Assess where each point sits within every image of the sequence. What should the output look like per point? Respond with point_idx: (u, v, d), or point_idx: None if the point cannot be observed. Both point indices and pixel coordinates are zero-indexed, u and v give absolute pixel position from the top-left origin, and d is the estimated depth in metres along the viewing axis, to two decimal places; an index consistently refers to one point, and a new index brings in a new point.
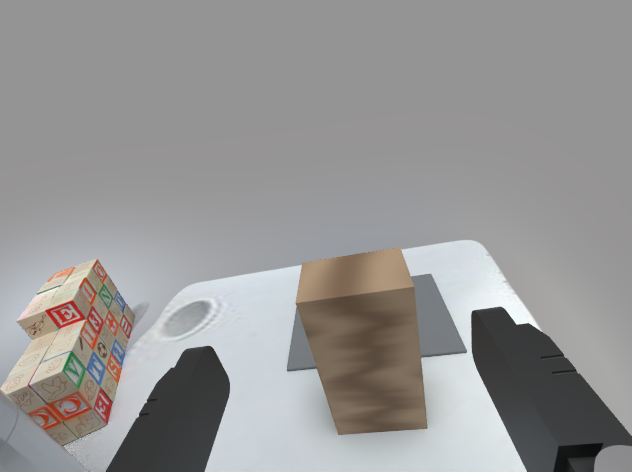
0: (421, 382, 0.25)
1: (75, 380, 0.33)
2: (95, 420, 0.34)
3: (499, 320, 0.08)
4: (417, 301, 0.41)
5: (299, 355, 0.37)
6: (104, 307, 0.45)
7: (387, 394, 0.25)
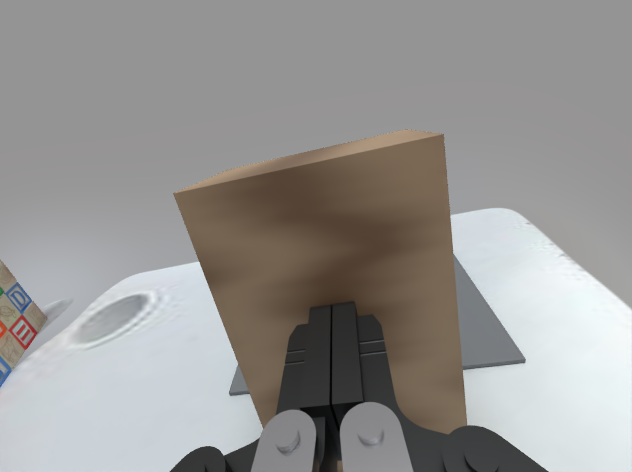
0: (461, 402, 0.11)
1: None
2: None
3: (344, 311, 0.09)
4: None
5: None
6: None
7: None
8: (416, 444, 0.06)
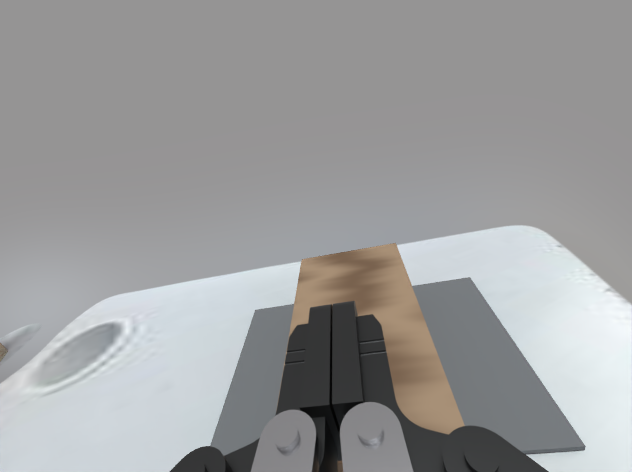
0: (425, 328, 0.17)
1: None
2: None
3: (345, 311, 0.09)
4: (454, 327, 0.23)
5: (232, 439, 0.19)
6: None
7: None
8: (416, 444, 0.06)
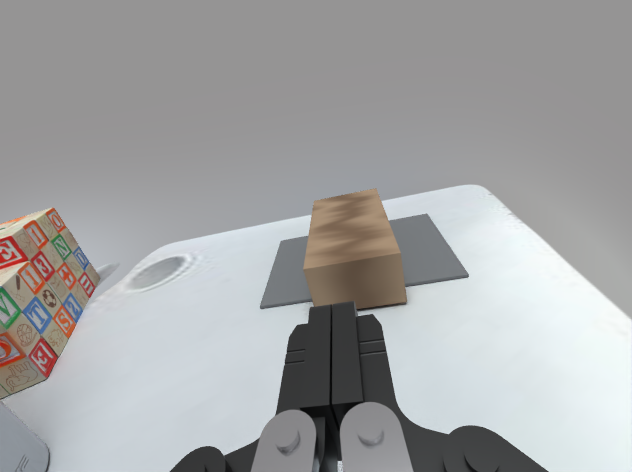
0: (386, 220, 0.30)
1: (3, 319, 0.27)
2: (31, 372, 0.28)
3: (345, 311, 0.09)
4: (411, 237, 0.36)
5: (275, 293, 0.32)
6: (58, 257, 0.39)
7: (358, 230, 0.30)
8: (416, 444, 0.06)
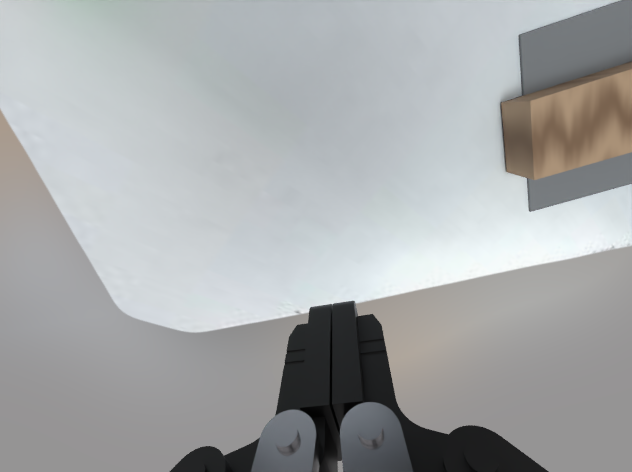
0: (597, 160, 0.32)
1: None
2: None
3: (344, 311, 0.09)
4: (602, 167, 0.37)
5: (539, 43, 0.32)
6: None
7: (586, 136, 0.31)
8: (416, 444, 0.06)
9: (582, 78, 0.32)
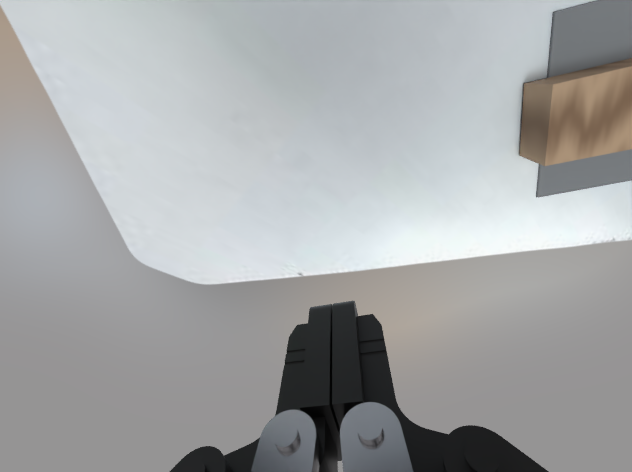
0: (611, 151, 0.32)
1: None
2: None
3: (344, 311, 0.09)
4: (616, 158, 0.37)
5: (573, 22, 0.31)
6: None
7: (604, 126, 0.31)
8: (416, 444, 0.06)
9: (611, 64, 0.32)
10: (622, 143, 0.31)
